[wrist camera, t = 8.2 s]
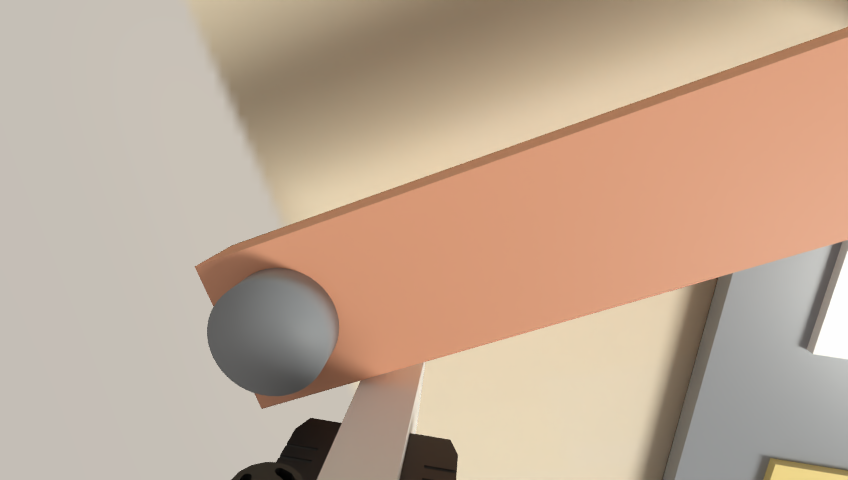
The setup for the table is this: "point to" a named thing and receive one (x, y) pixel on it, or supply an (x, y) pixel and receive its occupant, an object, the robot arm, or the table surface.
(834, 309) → the label board
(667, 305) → the table surface
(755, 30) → the table surface
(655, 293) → the swing arm
